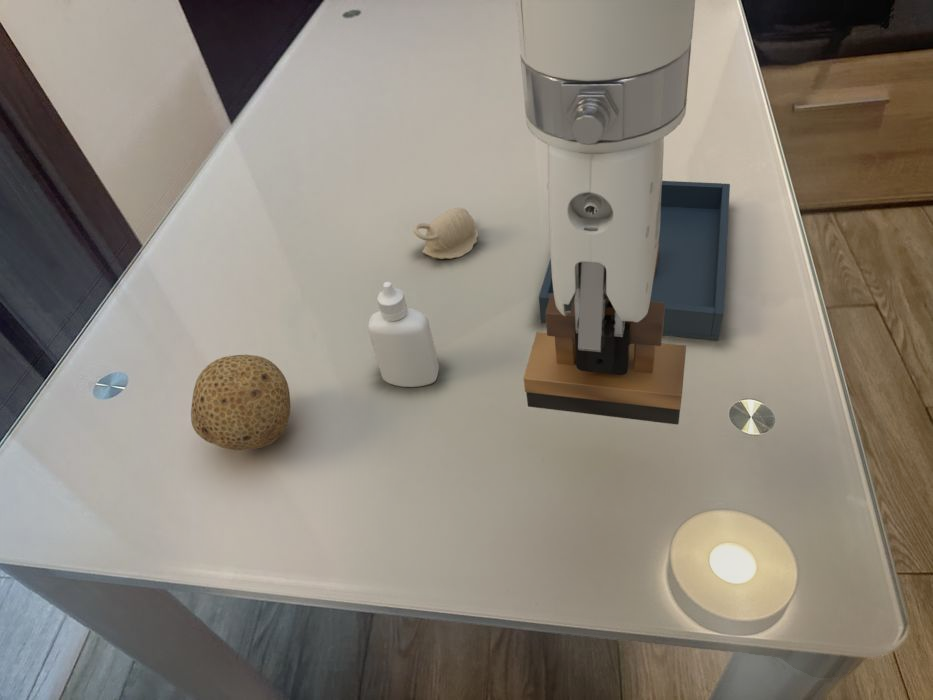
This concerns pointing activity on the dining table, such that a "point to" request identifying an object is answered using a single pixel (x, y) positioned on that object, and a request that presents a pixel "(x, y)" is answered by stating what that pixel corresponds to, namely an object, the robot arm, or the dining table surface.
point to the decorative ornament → (449, 234)
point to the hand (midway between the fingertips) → (605, 353)
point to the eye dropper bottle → (402, 341)
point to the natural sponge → (240, 403)
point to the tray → (686, 259)
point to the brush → (624, 396)
